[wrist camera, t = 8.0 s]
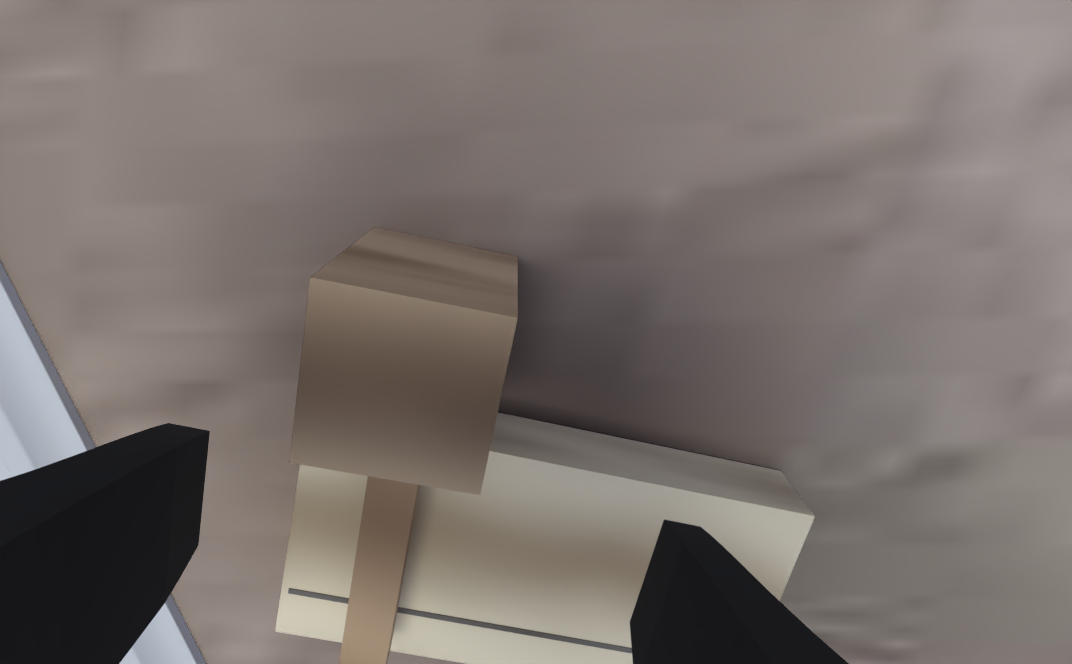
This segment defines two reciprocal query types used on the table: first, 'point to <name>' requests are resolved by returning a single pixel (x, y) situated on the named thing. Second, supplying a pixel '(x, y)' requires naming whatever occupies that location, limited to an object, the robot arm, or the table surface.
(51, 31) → the table surface
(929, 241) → the table surface
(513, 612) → the plank
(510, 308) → the wooden mallet
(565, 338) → the table surface
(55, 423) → the baseboard
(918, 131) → the table surface
